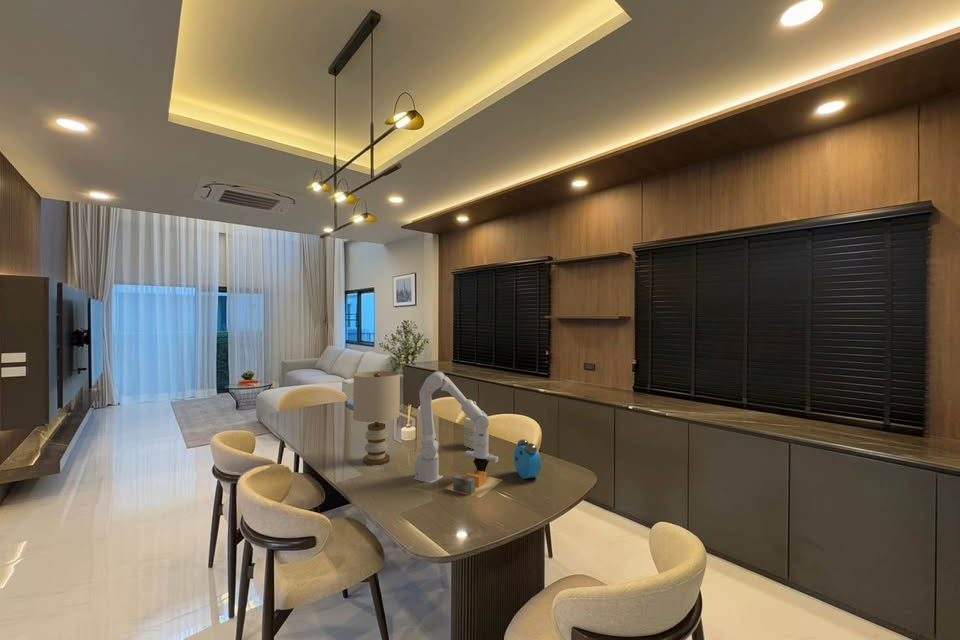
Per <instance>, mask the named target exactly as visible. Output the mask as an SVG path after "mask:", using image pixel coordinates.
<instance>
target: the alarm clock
mask: <svg viewBox="0 0 960 640" xmlns="http://www.w3.org/2000/svg"><path fill="white" fill-rule="evenodd" d="M516 446H517V447H516V448H515V450H514V453H513V462H514V467H515V470H516V473H517V474H518V476H519V477H520V478H521V479H524V480H526V479H531V478H534V480H535V479H537V477H539V475H541V474H540V473H541V470H542V459H541V456H540V452H539V450H538V447H537V445H535V444H534V443H531V442H530V443H529V441H528V440H527V439H523V438H522V439H519V440H518V441H517V443H516Z"/></svg>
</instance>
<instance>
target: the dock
mask: <svg viewBox="0 0 960 640" xmlns="http://www.w3.org/2000/svg"><path fill="white" fill-rule="evenodd" d="M502 481H503V479H500V478H496V477H491V476H487V475H486V483H484V484H483V485H482V486H480V487H475V482H476V481H475V478H471V477H466V474H465V475H461V474H456V475H454V476H453V481H452V483H450V484H449V485H447V486H445V487H443V489H445V490H449V491H451V492H456V493H460V494H464V495H467V496H472V497H476V498H479V499H480V498H481V497H483V496H484V495H486V494H487V493H488V492H490V491H491V490H492V489H493V488H494V487H495V488H496V486H497V485H498V484H500V483H501V482H502Z"/></svg>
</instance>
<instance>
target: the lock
mask: <svg viewBox="0 0 960 640" xmlns="http://www.w3.org/2000/svg"><path fill="white" fill-rule="evenodd" d="M465 475H466V477H471V478H475V481H476V482H475V487H480V486H482V485H483V484H484V483H486V476H487V472H486V471H485V472H483V471H478V470H477V469H471V471H469V472H467V473H465Z"/></svg>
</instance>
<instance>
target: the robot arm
mask: <svg viewBox="0 0 960 640" xmlns="http://www.w3.org/2000/svg"><path fill="white" fill-rule="evenodd" d="M440 388H441V389H440ZM438 389H440V391H445V392H448V393H449V394H450V395H451V396H452V397H453V398H454V399H455V400H456V401H457V402H458V404H460V405H461V407H460V408H461V409H460V410H461V411H462V412H463V413H464V414H465V416H466V417H467V418H470V419H471V421H473V422H474V426H475V450H466V451H465V454H464V457H469V458H474V460H473V464H474V466H475V467H476V470H478V471H483V472H486V469H487V466H488V464H489V462H493V463H497V462H499V456H498V455H494V454H492V453H489V441H490V439H489V435H490V434H489V420H490V418H489V416H488V414H487V413H486V412H485V411H484V410H481V408H480V407H479V406H478V404H477V402H476V401H475V400H474V401H473V400H472V399H467V397H465V395H464V394H463V393H462V392H461V390H459V388H458V387H457V386H456V385H455V384H454V382H453V381H452V380H451V379H450V378H449V377H448V376H446V374H445V373H444V372H443V371H440V370H436V371H434V372H432V373H431V374H430V375H429V376H427V378H425V380H424V382H423V384H422V385H421V388H420V389H419V392H418V397H419V406H420V418H421V429H422V439H421V448H420V455H418V456H417V457H416V459H415V462H414V477H413V480H416V481H421V482H424V483H429V484H433V483H435V482H436V481H439V480H440V479H442V478H443V475H440V473H439V470H440V469H439V468H440V467H439V466H440V465H439V463H440V461H439V460H440V458H439V456H440V455H439V454H438V451H439V449H440V442H439V440H438V439H437V434H436V432H435V424H434V423H435V421H434V410H433V399H432V395H433V394H434V393H435V391H437V390H438Z"/></svg>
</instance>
